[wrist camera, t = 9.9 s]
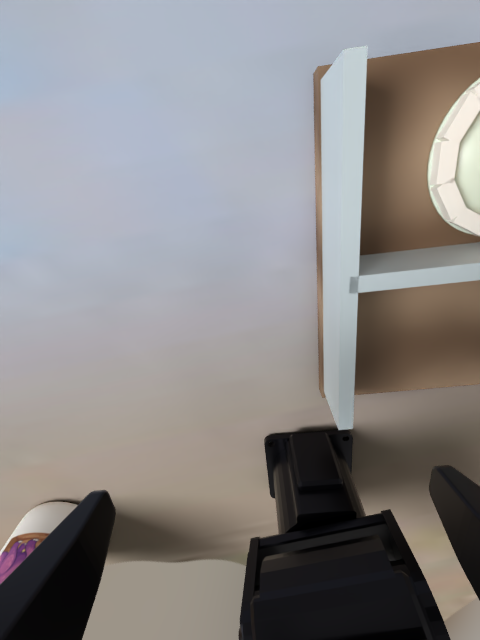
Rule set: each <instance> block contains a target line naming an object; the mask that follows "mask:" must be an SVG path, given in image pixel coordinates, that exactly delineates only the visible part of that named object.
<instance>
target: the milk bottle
mask: <svg viewBox="0 0 480 640" xmlns="http://www.w3.org/2000/svg"><path fill="white" fill-rule="evenodd" d="M77 506H78V505H76V504H72V503H68V502H48V503H43V504H41V505H38V506H36V507H35V508H33V509H32V510H30V511H29V512H28V513H27V514H26V515H25V516H24V517H23V519H22V520H21V522H20V523H19V525H18V526H17V527H16V529H15V530H14V532H13V533H12V535H11V536H10V538H9V539H8V541H7V542H6V544H5V545H4V547H3V548H2V550H1V551H0V584H1V583H2V582H3V581H4V580H5V579H6V578H7V577H8V576H9V575H10V574H11V573H12V572H13V571H14V570H15V569H16V568H17V567H18V566H19V565H20V564H21V563H22V562H23V561H24V560H25V559H26V557H27V556H28V555H29V554H30V553H31V552H32V551H33V550H34V549H35V548H36V547H37V546H38V545H39V544H40V543H41V542H42V541H43V540H44V539H45V538H46V537H47V536H48V535H49V534H50V533H51V532H52V531H53V530H54V529H55V528H56V527H57V526H58V525H59V524H60V523H61V522H62V521H63V520H64V519H65V518H66V517H67V516H68V515H69V514H70V513H71V512H72V511H73V510H74V509H75V508H76V507H77Z"/></svg>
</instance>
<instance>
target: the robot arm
mask: <svg viewBox="0 0 480 640" xmlns="http://www.w3.org/2000/svg"><path fill="white" fill-rule="evenodd" d="M344 436H346V437H344ZM269 442H273V443H269ZM352 443H353V437H352V434H351V432H350V431H349V430H332V431H319V432H307V433H294V434H282V435H270V436H267V437H266V438H265V439H264V444H265V453H266V462H267V470H268V479H269V488H270V495H271V497H272V498H275V500H276V510H277V520H278V530H279V534H278V535H273V536H268V537H263V538H260V537H255V538H251V541H250V549H249V552H248V557H247V565H246V575H245V582H244V591H243V599H242V607H241V615H240V629H239V640H450V637H449V634H448V632H447V629H446V627H445V624H444V621H443V619H442V616H441V614H440V611H439V609H438V606H437V604H436V602H435V599H434V597H433V595H432V592H431V590H430V588H429V586H428V584H427V581H426V579H425V577H424V575H423V573H422V571H421V569H420V567H419V565H418V563H417V561H416V559H415V557H414V555H413V553H412V551H411V549H410V547H409V545H408V543H407V541H406V539H405V537H404V536H403V534H402V532H401V530H400V528H399V526H398V524H397V522H396V520H395V518H394V516H393V514H392V512H391V510H390V509H389V510H385V511H381V513H379V514H374V515H369V516H366V514H365V512H364V509H363V506H362V503H361V501H360V498H359V495H358V492H357V490H356V487H355V484H354V481H353V479H352V476H351V469H352ZM429 491H430V495H431V498H432V500H433V503H434V505H435V507H436V510H437V512H438V514H439V517H440V519H441V521H442V524H443V526H444V528H445V531H446V533H447V535H448V538H449V540H450V542H451V545H452V547H453V549H454V551H455V554H456V556H457V558H458V560H459V562H460V564H461V566H462V568H463V570H464V572H465V574H466V576H467V578H468V580H469V581H470V583H471V585H472V587H473V589H474V591H475V593H476V594H477V596H478V598H479V600H480V486H478V485H477V484H476V483H474V482H473V481H472V480H470V479H469V478H467V477H466V476H465V475H463V474H462V473H460V472H459V471H458V470H456V469H455V468H453V467H452V466H449V465H444V466H435V467H434V468H433V469H432V474H431V479H430V484H429ZM115 514H116V512H115V507H114V505H113V502H112V500H111V498H110V495H109V493H108V492H107V491H106V490H99V491H93V492H91V493H89V494H88V495H87V496H86V497H85V498H84V499H83V500H82V501H81V503H80V504H79V505H78V506H77V507H76V508H75V509H74V510H73V511H72V512H71V513H70V514H69V515H68V516H67V517H66V518H65V519H64V520H63V521H62V522H61V523H60V524H59V525H58V526H57V527H56V528H55V529H54V530H53V531H52V532H51V533H50V534H49V535H48V536H47V537H46V538H45V539H44V540H43V541H42V542H41V543H40V544H39V545H38V546H37V547H36V548H35V549H34V550H33V551H32V552H31V553H30V554H29V555H28V556H27V557H26V559H25V560H24V561H23V562H22V563H21V564H20V565H19V566H18V567H17V568H16V569H15V570H14V571H13V572H12V573H11V574H10V575H9V576H8V577H7V578H6V579H5V580H4V581H3V582H2V583H1V584H0V640H82V638H83V634H84V631H85V628H86V625H87V622H88V619H89V616H90V612H91V609H92V606H93V603H94V600H95V597H96V594H97V591H98V587H99V584H100V581H101V577H102V573H103V569H104V564H105V560H106V556H107V551H108V547H109V542H110V538H111V534H112V529H113V525H114V520H115Z"/></svg>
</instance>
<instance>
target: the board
mask: <svg viewBox="0 0 480 640" xmlns="http://www.w3.org/2000/svg"><path fill="white" fill-rule="evenodd" d="M367 47H368V46H362V47H356V48H349V49H344V50H343V51H342V52H341V54H340V55H339V56H338V58H337V59H336V60H335V62H334V63H333V64H331V65H325V66H318V67H317V69H316V71H315V72H314V74H313V75H314V130H315V185H316V240H317V295H318V350H319V389H320V392H321V395H322V398H325V397H326V398H327V401H328V404H329V406H330V409H331V412H332V414H333V417H334V420H335V422H336V425H337V428H338V430H346V429H353V413H354V395H360V394H371V393H383V392H394V391H406V390H418V389H429V388H441V387H452V386H464V385H475V384H480V42H477V43H470V44H464V45H457V46H451V47H444V48H437V49H431V50H424V51H417V52H411V53H404V54H398V55H391V56H384V57H378V58H371V59H367Z"/></svg>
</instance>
